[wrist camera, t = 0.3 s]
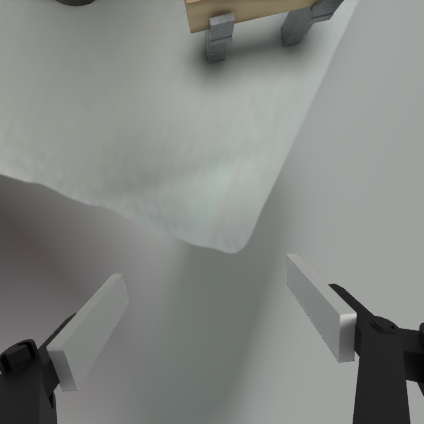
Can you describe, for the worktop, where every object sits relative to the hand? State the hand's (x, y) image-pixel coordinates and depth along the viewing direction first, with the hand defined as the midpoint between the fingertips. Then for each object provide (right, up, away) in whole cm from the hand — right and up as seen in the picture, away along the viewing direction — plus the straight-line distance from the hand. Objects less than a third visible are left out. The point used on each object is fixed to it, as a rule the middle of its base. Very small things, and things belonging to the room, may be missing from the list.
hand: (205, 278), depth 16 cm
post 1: (+1, +35, +21) cm, 40 cm away
